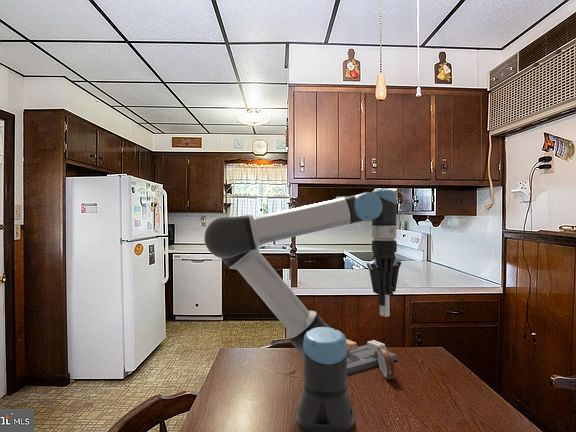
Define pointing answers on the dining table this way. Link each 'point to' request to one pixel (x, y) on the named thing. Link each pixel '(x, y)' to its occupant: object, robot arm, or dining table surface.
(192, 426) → the dining table surface
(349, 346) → the fader orange
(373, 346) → the fader cream
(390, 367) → the tin
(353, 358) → the console
